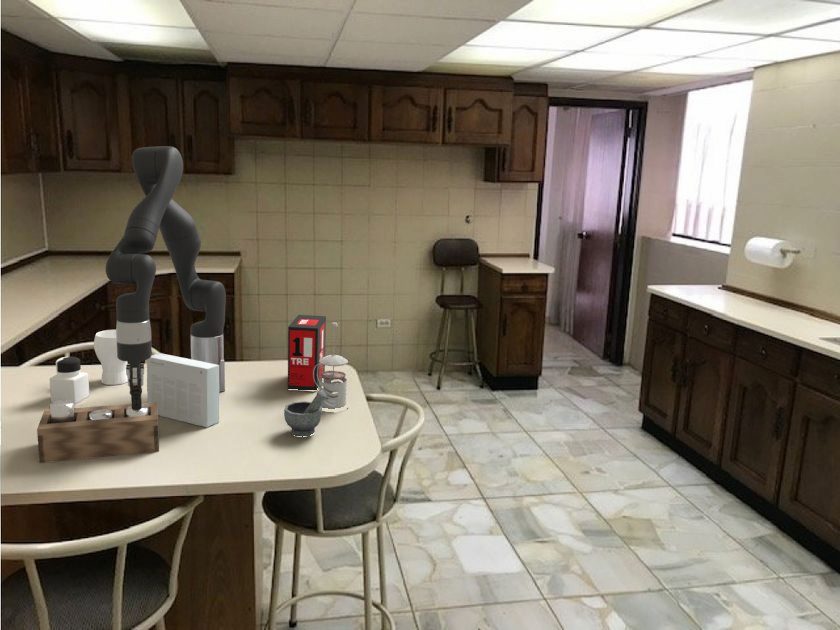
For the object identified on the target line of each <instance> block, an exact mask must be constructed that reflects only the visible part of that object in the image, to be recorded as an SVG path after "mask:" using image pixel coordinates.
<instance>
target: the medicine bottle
mask: <svg viewBox="0 0 840 630" xmlns="http://www.w3.org/2000/svg"><path fill="white" fill-rule="evenodd" d="M81 367H82V366H81V359H80V358H79V357H76V356H64V357H60V358H58V359H57V360H56V361H55V368H56V369H55V370H56V374H55V375H54V376H51V377H50V378H49V390H50V392H49V393H50V402H51V403H52V402H55V401H60V400H70V401H73V404H74V405H76V404H79V403H80V402H81V401H83V400H85V399H87V398H89V397H90V386H89V385H90V384H89V373H88V372H85V371H84V372H83V371H82V368H81Z"/></svg>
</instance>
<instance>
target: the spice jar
mask: <svg viewBox="0 0 840 630" xmlns="http://www.w3.org/2000/svg"><path fill="white" fill-rule="evenodd" d="M89 416H90V420H100V419H112V411H110V410H105V409H102V410H95V411H92V412H91V413H90V414H89Z"/></svg>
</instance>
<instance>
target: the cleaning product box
mask: <svg viewBox="0 0 840 630" xmlns="http://www.w3.org/2000/svg"><path fill="white" fill-rule="evenodd" d="M326 323H327V316H325V315H311V314H297V316H296V317H295V318H294V319H293V320H292V322H290V324H289V325H288V327H287V329H288V330H287V390H288V389H298V390H317V388H318V386H319V381H318V378H319V379H320V378H322V377H321V373H322V372H325V371H326V368H325V367H326V366H325V367H324V365H323V364H321V365H322V367H324V368H321V365H320V366H319V365H317V364H319V363H320V362H319V360H320V359H321V358H323V357H325V356H326V332H327V330H326V328H327V327H326ZM316 365H317V366H316ZM315 366H316V368H315ZM318 366H319V368H318ZM314 368H315V370H314ZM317 368H318V377H317ZM313 370H314V378H313ZM314 379H315V382H316V383H317V385H318V386H317V385H316V383H315V382H314ZM318 389H319V388H318ZM317 391H318V390H317Z"/></svg>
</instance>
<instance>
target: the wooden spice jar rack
mask: <svg viewBox="0 0 840 630" xmlns="http://www.w3.org/2000/svg"><path fill="white" fill-rule="evenodd" d="M142 405H145V406H147V407H148V416H137V417H127V411H126V409H127V408H128V407H130V406H132V404H131V403H126V404H113V405H112V404H111V405H101V406H100V405H99V406H85V407H84V406H83V407H74V420H75V422H63V423H51V413H50V409H45V410H43V413H42V415H41V418H40V420H39V423H38V426H37V428H36V433H37V434H36V435H37V447H38V449H37V450H38V461H39V462H38V463H39V464H43V463H53V462H63V461H64V462H65V461H72V460H73V461H74V460H83V459H84V460H85V459H93V458H104V457H112V456H124V455H133V454H141V453H143V454H144V453H153V452H160V444H159V443H160V441H159V438H160V437H159V436H160V435H159V415H158V411H157V402H150V403H147V402H142ZM102 409H105V410H110V411H112V419H100V420H90V416H89V414H90V413H91V412H92V411H95V410H102Z"/></svg>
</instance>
